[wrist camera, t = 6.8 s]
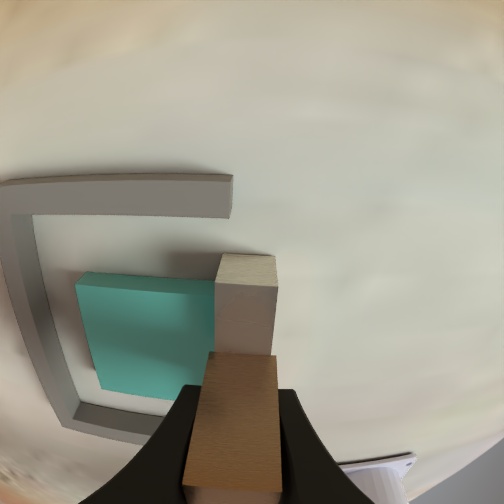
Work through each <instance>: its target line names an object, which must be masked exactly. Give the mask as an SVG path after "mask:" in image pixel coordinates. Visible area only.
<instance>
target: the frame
mask: <svg viewBox="0 0 504 504" xmlns="http://www.w3.org/2000/svg"><path fill="white" fill-rule="evenodd" d="M232 190H233V175H213V174H101V175H75V176H57V177H41V178H28V179H16V180H8V181H5V182H3V183H0V259H1V263H2V268H3V272H4V276H5V280H6V284H7V288H8V292H9V295H10V299H11V302H12V306H13V309H14V312H15V315H16V319H17V322H18V325H19V328H20V331H21V334H22V336H23V339H24V342H25V345H26V347H27V350H28V353H29V355H30V358H31V360H32V363H33V365H34V368H35V370H36V373H37V375H38V377H39V380H40V382H41V384H42V386H43V389H44V391H45V393H46V395H47V397H48V399H49V401H50V404H51V406H52V408H53V410H54V412H55V414H56V416H57V418H58V419H59V421H60V423H61V425H62V427H65V428H69V429H72V430H76V431H79V432H83V433H87V434H91V435H95V436H99V437H103V438H108V439H112V440H117V441H122V442H127V443H132V444H138V445H143V446H144V445H145V444H146V442H147V441H148V440H149V439H150V437H151V436H152V435H153V433H154V432H155V431H156V429H157V428H158V427H159V425H160V424H161V422H162V421H163V419H164V418H165V417H158V416H151V415H145V414H138V413H132V412H127V411H121V410H116V409H110V408H105V407H101V406H96V405H91V404H87V403H83V402H81V401H80V399H79V396H78V394H77V391H76V389H75V386H74V383H73V381H72V378H71V375H70V373H69V370H68V367H67V364H66V361H65V358H64V355H63V352H62V349H61V346H60V343H59V340H58V337H57V333H56V330H55V327H54V323H53V319H52V316H51V312H50V308H49V304H48V301H47V296H46V292H45V288H44V284H43V279H42V275H41V270H40V265H39V260H38V254H37V249H36V243H35V236H34V230H33V223H32V215H41V214H55V215H134V216H171V217H200V218H225V219H229V218H230V213H231V209H232Z"/></svg>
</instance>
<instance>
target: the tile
mask: <svg viewBox="0 0 504 504" xmlns="http://www.w3.org/2000/svg"><path fill="white" fill-rule="evenodd" d="M75 289H76V294H77V299H78V304H79V308H80V313H81V317H82V321H83V325H84V329H85V333H86V337H87V341H88V345H89V349H90V352H91V356H92V359H93V363H94V366H95V369H96V373H97V376H98V379H99V382H100V385H101V388H102V389H104V390H109V391H115V392H120V393H126V394H132V395H138V396H145V397H152V398H159V399H167V400H176V398H177V397H178V395H179V393H180V391H181V389H182V387H183V386H184V385H185V384H189V385H200V386H202V383H203V378H204V373H205V369H206V364H207V359H208V355H209V351H212V352H215V281H210V280H193V279H177V278H161V277H147V276H133V275H120V274H107V273H95V272H86V273H85V274H84V275H83V276H82V277H81V278H80V279H79V280H78V281H77V282H76V283H75Z"/></svg>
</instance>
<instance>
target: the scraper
mask: <svg viewBox="0 0 504 504" xmlns="http://www.w3.org/2000/svg"><path fill="white" fill-rule="evenodd" d="M277 293H278V280H277V270H276V260H275V256H260V255H244V254H228V253H223V255H222V259H221V262H220V266H219V269H218V273H217V276H216V280H215V352H212V351H209V355H208V359H207V364H206V369H205V373H204V378H203V383H202V387H201V392H200V397H199V402H198V407H197V412H196V416H195V421H194V426H193V431H192V436H191V441H190V446H189V451H188V456H187V461H186V466H185V471H184V477H183V482H182V486H183V490H184V494H185V497H186V501H187V504H278V502H279V499H280V496H281V493H282V474H281V447H280V424H279V401H278V381H277V361H276V356H273V355H271V348H272V339H273V330H274V321H275V312H276V303H277Z"/></svg>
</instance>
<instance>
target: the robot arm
mask: <svg viewBox="0 0 504 504" xmlns="http://www.w3.org/2000/svg"><path fill="white" fill-rule="evenodd" d="M201 387H202V386H200V385H189V384H185V385H184V386H183V387H182V389H181V391H180V393H179V395H178V397H177V398H176V400H175V402H174V404H173V405H172V407H171V409H170V410H169V412H168V413H167V415H166V416H165V418H164V419H163V421H162V422H161V424H160V425H159V427H158V428H157V429H156V431H155V432H154V433H153V435H152V436H151V437H150V439H149V440H148V441H147V442H146V444H145V445H144V446H143V447H142V449H141V450H140V451H139V452H138V453H137V454H136V455H135V456H134V458H133V459H132V460H131V461H130V462H129V463H128V464H127V465H126V466H125V467H124V468H123V469H122V470H121V471H119V472H118V473H117V474H116V475H115V476H114V477H113V478H112V479H111V480H109V481H108V482H107V483H106V484H105V485H103V486H102V487H101V488H99V489H98V490H97V491H95V492H94V493H93V494H91V495H90V496H88V497H87V498H86V499H84V500H83V501H81V502H80V503H78V504H187V501H186V497H185V494H184V490H183V486H182V482H183V477H184V471H185V466H186V461H187V456H188V451H189V446H190V441H191V436H192V431H193V426H194V421H195V416H196V412H197V407H198V402H199V397H200V392H201ZM278 401H279V424H280V447H281V474H282V493H281V496H280V499H279V502H278V504H409V502H408V499H407V496H406V493H405V490H404V487H403V484H402V481H401V479H402V478H403V477H404V475H405V474H406V473H407V472H408V470H409V469H410V468H411V466H412V465H413V464H414V462H415V461H416V460H417V456H416V454H409V455H405V456H399V457H394V458H389V459H383V460H377V461H370V462H363V463H356V464H347V465H338V464H337V463H336V462H335V460H334V459H333V458H332V456H331V455H330V453H329V452H328V451H327V449H326V448H325V446H324V445H323V443H322V442H321V440H320V439H319V437H318V435H317V434H316V432H315V430H314V429H313V427H312V425H311V423H310V422H309V420H308V418H307V416H306V414H305V412H304V410H303V408H302V406H301V404H300V401H299V399H298V397H297V394H296V392H295V391H294V390H293V389H278Z"/></svg>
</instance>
